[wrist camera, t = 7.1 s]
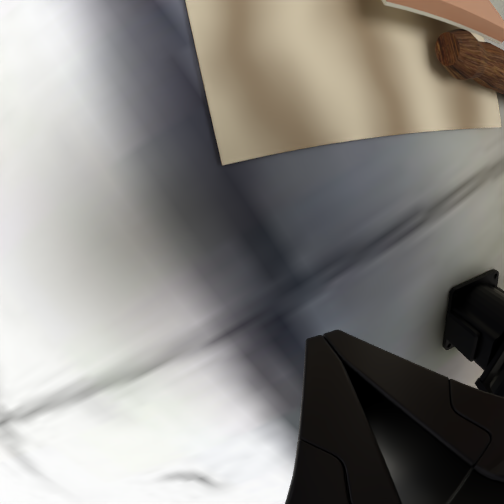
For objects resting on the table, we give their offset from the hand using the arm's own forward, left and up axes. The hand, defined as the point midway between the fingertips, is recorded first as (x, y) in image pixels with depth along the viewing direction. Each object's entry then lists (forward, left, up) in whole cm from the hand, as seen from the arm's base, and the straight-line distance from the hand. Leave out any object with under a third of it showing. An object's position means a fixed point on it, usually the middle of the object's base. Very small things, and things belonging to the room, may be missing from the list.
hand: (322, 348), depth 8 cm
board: (-10, -14, -12) cm, 21 cm away
